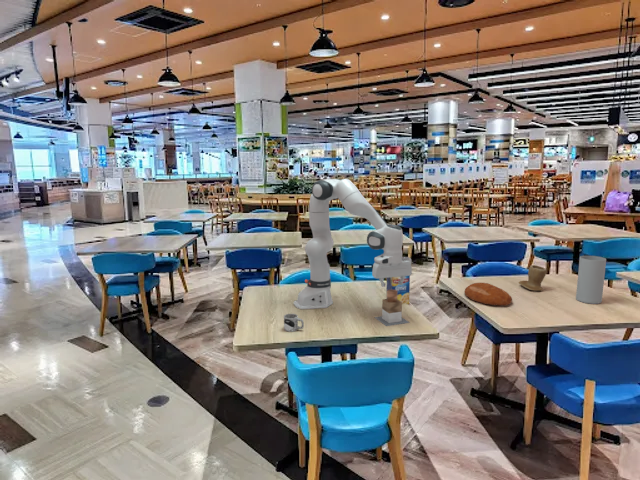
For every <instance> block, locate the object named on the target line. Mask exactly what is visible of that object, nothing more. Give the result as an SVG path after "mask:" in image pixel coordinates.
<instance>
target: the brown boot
mask: <svg viewBox="0 0 640 480" xmlns="http://www.w3.org/2000/svg"><path fill="white" fill-rule="evenodd" d="M527 275H528V276H527V277H528V278H527V279H528V280H520V281H518V284H519V285H520V286H522V287H523V288H525V289H527V290H528V291H529V290H530V291H532V292H533V291H534V292H541V291H544V288H543V286H542V282H543V280H544V279H545V278H546V275H547V268H545V267H542V266H540V265H535V264H531V265H530V266H529V267H528V272H527Z"/></svg>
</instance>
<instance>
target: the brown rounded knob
mask: <svg viewBox="0 0 640 480" xmlns="http://www.w3.org/2000/svg"><path fill="white" fill-rule="evenodd" d="M387 301H388V302H397V290H392V289H391V290H387Z"/></svg>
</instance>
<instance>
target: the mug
mask: <svg viewBox="0 0 640 480" xmlns="http://www.w3.org/2000/svg"><path fill="white" fill-rule="evenodd" d="M299 322H301V326H299ZM283 328H284V331H285V332H288V333H292V332H296V331H298V330H302V329H304V319H302V318H300V317H299V316H298V314H296V313H287V314H284V315H283Z"/></svg>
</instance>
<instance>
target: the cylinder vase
mask: <svg viewBox="0 0 640 480" xmlns="http://www.w3.org/2000/svg"><path fill="white" fill-rule="evenodd" d="M606 264H607V258H605V257H602V256H596V255H580V256H579V262H578V274H577V284H576V292H575V300H577V301H578V302H581V303H583V304H584V303H585V304H590V305H598V304H601V303H602V302H603V296H604V295H603V293H604V285H605V284H604V283H605V275H606V267H607V266H606Z"/></svg>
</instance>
